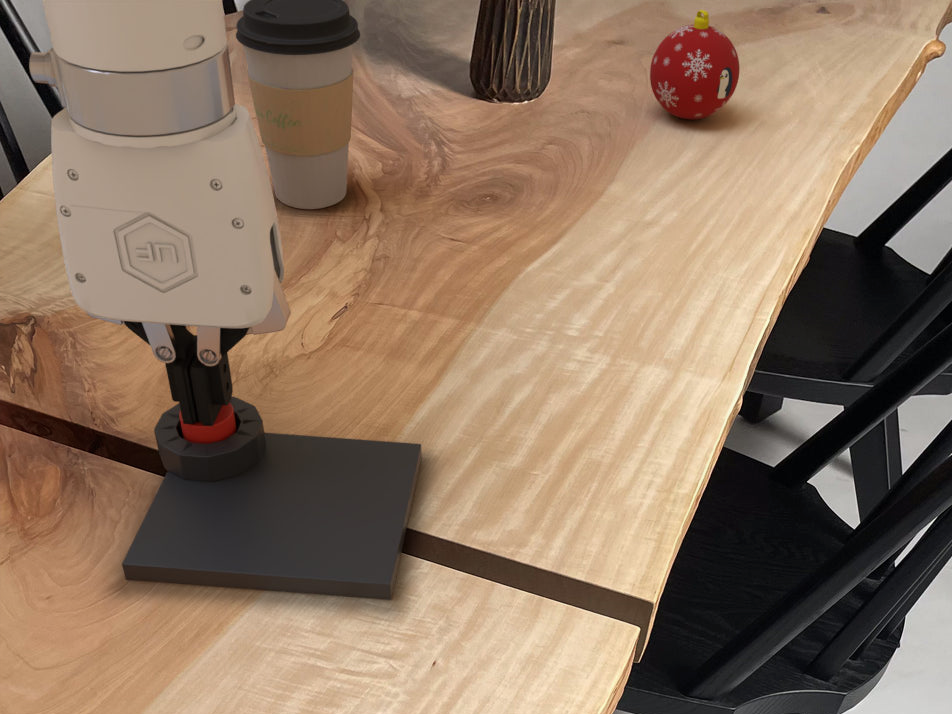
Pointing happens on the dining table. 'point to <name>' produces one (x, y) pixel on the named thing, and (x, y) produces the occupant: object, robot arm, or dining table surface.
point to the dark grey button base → (276, 511)
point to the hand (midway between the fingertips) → (205, 410)
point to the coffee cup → (302, 94)
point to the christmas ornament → (694, 70)
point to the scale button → (211, 428)
